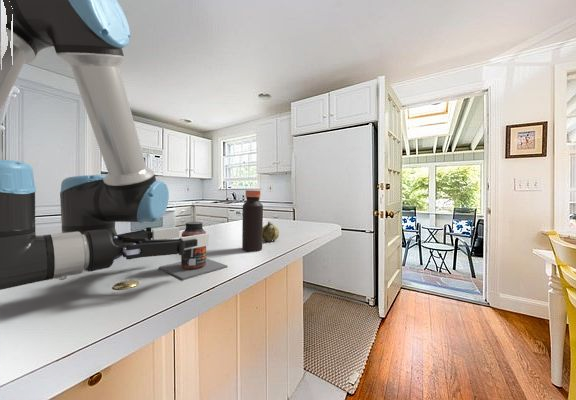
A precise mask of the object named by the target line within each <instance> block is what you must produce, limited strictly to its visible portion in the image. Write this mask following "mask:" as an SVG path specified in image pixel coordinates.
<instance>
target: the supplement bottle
mask: <svg viewBox="0 0 576 400" xmlns="http://www.w3.org/2000/svg"><path fill="white" fill-rule="evenodd" d="M203 227H204V225H203V222H202V221H186V223H185V230H183V231H182V232H181V235H180V236H181V237H187V236H194V235H200V234H207V231H206V230H204V228H203ZM180 257H181V258H180V262H181V266H182V267H183V268H185V269H198V268H201V267H203V266H205V264H206V258H207V246H203V247H198V248H193V249H187V250H184V253H183V255H180Z"/></svg>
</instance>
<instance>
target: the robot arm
mask: <svg viewBox="0 0 576 400" xmlns="http://www.w3.org/2000/svg"><path fill="white" fill-rule="evenodd" d="M9 1H10V2H9ZM3 2H4V6H5V8H6V15H7V24H6V32H7V36H8V46H7V50H6V52H5V54H4V56H3V58H2V70H1V71H0V113H1V112H2V111H3V110H2V109H3V108H4V106H5V103H6V102H7V100H8V98H9V95H10V93H11V91H12V89H13V87H14V86H15V85H14V84H15V83H16V81H17V79H18V76H19V74H20V72H21V70H22V68H23V66H24V64H30V63H33V61H35V59H36V56H37V55H38V53H40V51H43V50H44V49H47V48H51V47H53V48H54V52H55V53H56V56H57V57H58V58H60V59H62V60H63V61H65V62H66V63H67V64H68V65H69V66H70V69H71V72H72V74H73V77H74V80H75V82H76V86H77V88H78V91H79V94H80V96H81V99H82V102H83V105H84V108H85V111H86V114H87V116H88V120H89V122H90V125H91V128H92V130H93V134H94V137H95V140H96V142H97V145H98V147H99V150H100V153H101V157H102V159H103V162H104V164H105V168H106V170H107V171H106V172H107V174H91V175H90V174H89V175H77V176H76V175H74V176H70V177H66V178H64V179H63V180H62V181H61V184H60V192H59V197H60V199H59V200H60V213H61V214H60V218H61V219H60V221H61V222H60V223H61V232H59V233H49V234H43V235H36V191H37V187H36V186H35V185H36V184H35V178H34V169H33V167H32V166H31V165H30V163H29V164H28V163H26V162H24V161H18V160H9V159H0V291H1V290H5V289H6V290H7V289H10V288H11V289H12V288H15V287H20V286H24V285H30V284H35V283H38V282H43V281H48V280H53V279H59V280H60V281H63V280H66V279H67V276H73V275H74V276H75V275H78V274H82V273H83V272H84V271H86V272H89V273H91V272H94V271H99V270H105V269H109V268H110V267H112V265H113V264H114V260H115V259H117V258H120V257H121V256H122V257H123V258H126V259H125V260H134V259H139V258H148V257H150V258H151V257H160V256H161V257H162V256H171V255H172V256H173V255H178V256H181V255H183V253H184V250H187V249H193V248H198V247H203V246H206V247H207V246H209V233H206V234H200V235H194V236H187V237H180V227H179V226H177V227H175V226H174V227H168V228H159V229H152V227H151V226H149V227H148V226H147V227H145V229H140V230H134V231H129V232H125V233H120V234H118V233H117V231H116V223H139V224H144V223H155V222H157V221H159V220H161V218H162V217H163V216H164V215H165V213H166V211H167V207H168V205H169V199H170V195H169V194H170V193H169V188H168V185H167V184H166V183H165V182H164V181H161V180H157V179H156V174H155V171H154V170H152V169H150V168H149V167H147V164H146V161H145V157H144V154H143V150H142V146H141V143H140V139H139V135H138V132H137V129H136V124H135V122H134V117H133V113H132V111H131V110H132V109H131V106H130V102H129V99H128V95H127V92H126V88H125V84H124V81H123V77H122V74H121V73H122V72H121V70H120V65H121V64H122V63H123V61H124V60H125V55H124V52H123V49H124V48H126V47H127V46H128V45H129V43H130V40H131V39H130V38H131V29H130V26H129V22H128V20H127V17H126V15H125V14H126V13H125V12H124V10H123V8H122V6H121V5H120V3H119V1H118V0H3ZM11 6H12V7H11ZM12 8H13V9H12ZM12 14H13V65H12V56H11V48H10V41H11V21H12ZM7 28H8V29H7Z"/></svg>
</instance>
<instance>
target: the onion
mask: <svg viewBox="0 0 576 400" xmlns="http://www.w3.org/2000/svg"><path fill="white" fill-rule="evenodd" d="M279 236H280V230H279V228H278V227H277V226H276V225H275V224H274V223H273V222H271V221H267V224H266V225H263V234H262V241H265V242H268V241H269V242H273V241H272V240H274V241H276V240H278V238H279Z"/></svg>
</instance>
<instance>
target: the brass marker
mask: <svg viewBox="0 0 576 400" xmlns="http://www.w3.org/2000/svg"><path fill="white" fill-rule="evenodd" d="M139 284H140V282H139V280H135V279H134V280H133V279H130V280H129V279H128V280H124V281H120V282H118V283H115V284H114V285H113V288H112V289H114V290H119V291H120V290H128V289H132V288H135V287H136V286H137V287H138V285H139Z"/></svg>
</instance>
